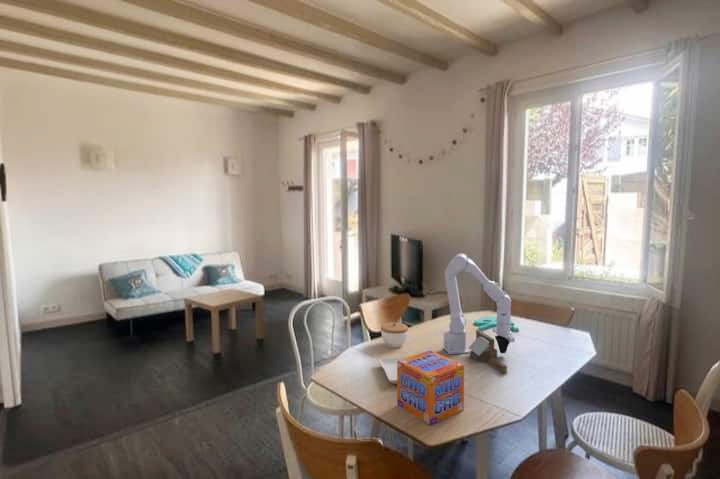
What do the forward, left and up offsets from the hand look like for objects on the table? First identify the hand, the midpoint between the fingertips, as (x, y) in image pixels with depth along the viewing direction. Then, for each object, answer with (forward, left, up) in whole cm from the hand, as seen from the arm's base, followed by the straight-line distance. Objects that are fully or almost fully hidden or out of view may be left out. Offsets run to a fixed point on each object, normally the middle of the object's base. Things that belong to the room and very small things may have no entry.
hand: (502, 352), depth 174 cm
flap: (-14, 0, +1) cm, 14 cm away
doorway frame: (-9, -5, -1) cm, 10 cm away
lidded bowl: (-43, +23, -2) cm, 48 cm away
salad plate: (-46, -9, -2) cm, 47 cm away
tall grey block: (-9, 0, -2) cm, 9 cm away
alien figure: (+18, +40, -2) cm, 44 cm away
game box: (-47, -35, -2) cm, 58 cm away
